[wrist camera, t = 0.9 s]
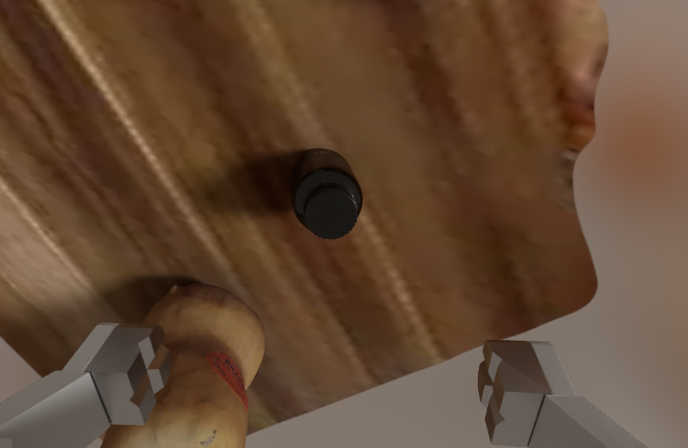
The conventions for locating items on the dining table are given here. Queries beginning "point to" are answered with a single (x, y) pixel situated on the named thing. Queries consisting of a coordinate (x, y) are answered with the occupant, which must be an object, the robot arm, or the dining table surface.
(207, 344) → the butternut squash
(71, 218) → the dining table surface
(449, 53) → the dining table surface
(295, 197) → the supplement bottle
